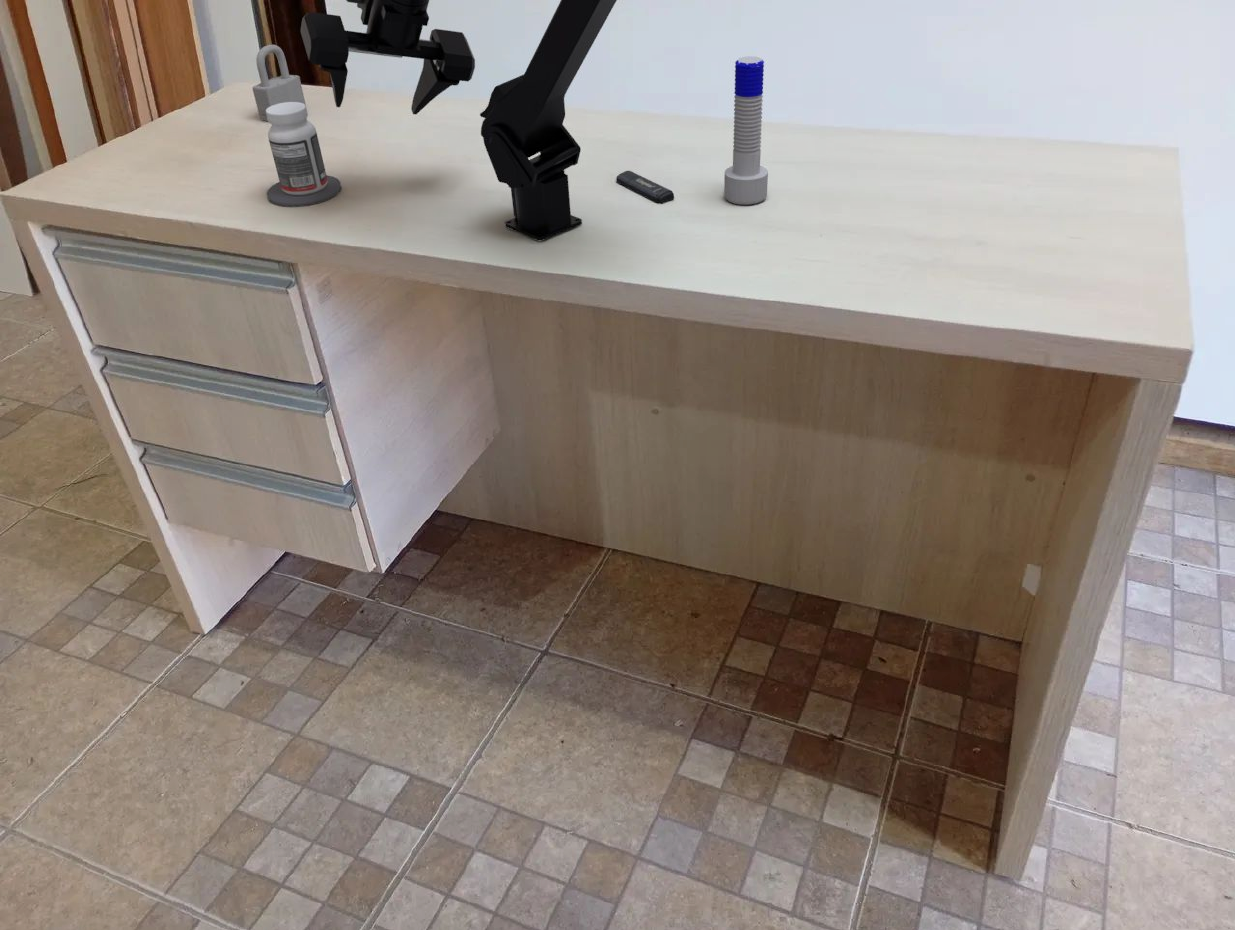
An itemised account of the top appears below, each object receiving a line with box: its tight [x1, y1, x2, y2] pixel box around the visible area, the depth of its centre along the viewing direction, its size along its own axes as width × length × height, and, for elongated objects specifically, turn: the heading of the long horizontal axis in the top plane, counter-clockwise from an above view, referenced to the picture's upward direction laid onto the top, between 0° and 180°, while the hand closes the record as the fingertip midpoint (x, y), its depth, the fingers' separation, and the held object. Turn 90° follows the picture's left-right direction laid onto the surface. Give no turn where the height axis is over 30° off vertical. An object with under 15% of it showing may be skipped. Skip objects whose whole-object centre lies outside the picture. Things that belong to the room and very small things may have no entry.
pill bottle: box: [266, 102, 328, 195], centre depth 125 cm, size 6×6×10 cm
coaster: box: [266, 174, 342, 208], centre depth 128 cm, size 9×9×1 cm
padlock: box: [251, 44, 307, 122], centre depth 151 cm, size 7×4×10 cm, turn 152°
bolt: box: [723, 56, 769, 206], centre depth 116 cm, size 16×5×5 cm
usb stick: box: [615, 170, 675, 205], centre depth 124 cm, size 10×3×2 cm, turn 34°
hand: (376, 108), depth 122 cm, fingers open, 9 cm apart
